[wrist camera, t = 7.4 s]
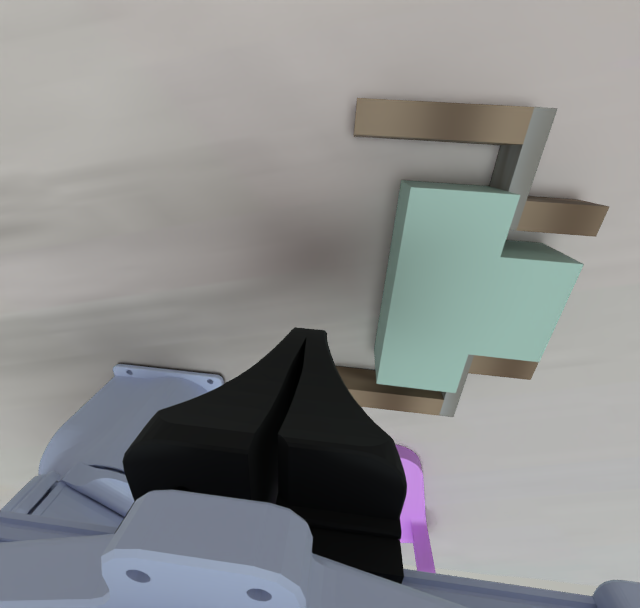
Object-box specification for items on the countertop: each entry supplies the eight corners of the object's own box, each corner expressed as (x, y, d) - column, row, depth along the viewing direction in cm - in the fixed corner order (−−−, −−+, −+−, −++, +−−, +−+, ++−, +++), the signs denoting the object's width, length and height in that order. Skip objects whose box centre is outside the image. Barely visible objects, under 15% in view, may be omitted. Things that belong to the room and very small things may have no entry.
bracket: (424, 528, 33) (440, 615, 27) (371, 527, 34) (375, 612, 28) (418, 441, 28) (437, 526, 21) (355, 444, 29) (356, 526, 22)
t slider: (373, 348, 24) (376, 383, 20) (401, 180, 18) (410, 187, 15) (496, 362, 23) (521, 401, 20) (561, 191, 18) (612, 201, 14)
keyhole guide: (331, 380, 25) (329, 402, 23) (356, 104, 17) (357, 98, 15) (496, 398, 24) (510, 423, 22) (610, 118, 16) (651, 113, 14)
